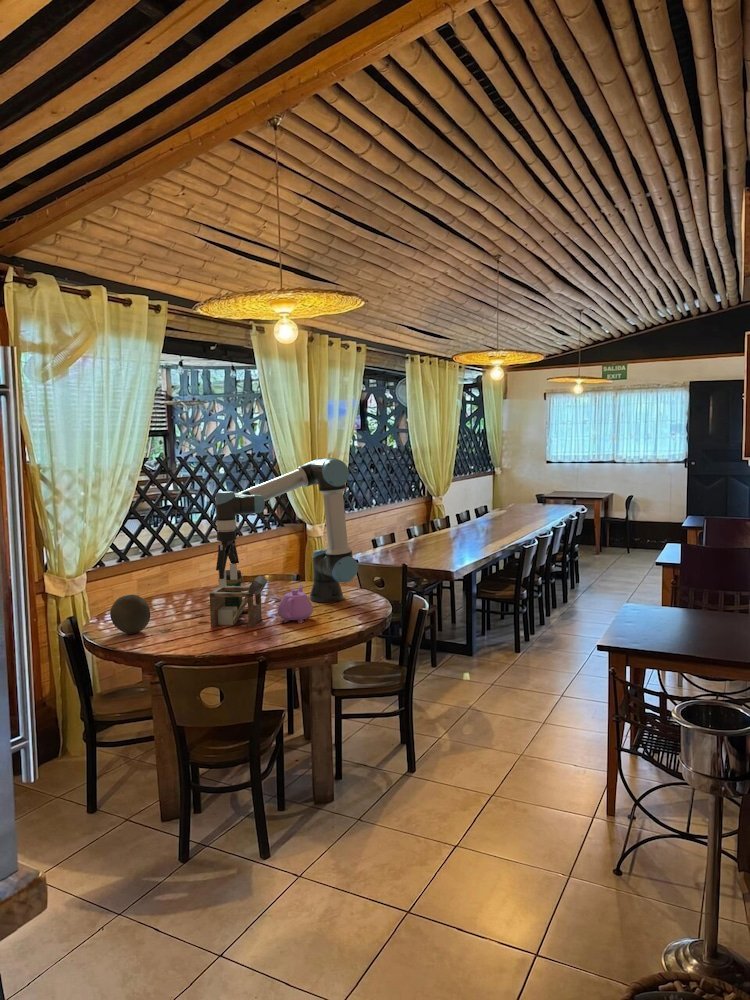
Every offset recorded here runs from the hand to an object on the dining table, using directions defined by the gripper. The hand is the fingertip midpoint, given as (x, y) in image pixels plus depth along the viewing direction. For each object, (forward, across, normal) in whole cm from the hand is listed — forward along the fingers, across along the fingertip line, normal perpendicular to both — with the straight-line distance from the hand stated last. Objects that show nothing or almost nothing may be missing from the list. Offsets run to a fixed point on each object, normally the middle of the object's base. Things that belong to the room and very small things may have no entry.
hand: (228, 583), depth 270 cm
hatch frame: (+16, 0, +3) cm, 16 cm away
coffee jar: (+16, -15, -4) cm, 23 cm away
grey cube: (+13, 0, +2) cm, 13 cm away
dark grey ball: (+16, +17, -33) cm, 41 cm away
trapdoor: (+8, 0, +10) cm, 13 cm away
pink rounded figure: (+16, -6, +26) cm, 31 cm away
